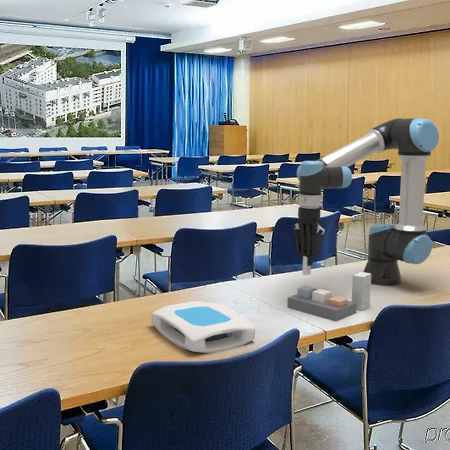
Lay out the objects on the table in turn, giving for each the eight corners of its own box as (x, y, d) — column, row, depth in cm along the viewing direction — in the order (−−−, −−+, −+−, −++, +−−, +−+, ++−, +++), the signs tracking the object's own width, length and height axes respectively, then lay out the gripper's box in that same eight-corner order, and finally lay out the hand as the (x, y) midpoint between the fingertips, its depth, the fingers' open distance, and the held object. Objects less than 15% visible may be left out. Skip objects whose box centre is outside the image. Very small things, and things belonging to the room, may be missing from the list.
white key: (319, 300, 208) (320, 288, 207) (331, 302, 205) (331, 291, 204) (312, 302, 205) (312, 291, 204) (323, 305, 202) (323, 294, 201)
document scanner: (193, 357, 165) (193, 335, 163) (150, 327, 188) (150, 307, 187) (256, 343, 175) (256, 322, 174) (208, 316, 199) (209, 298, 198)
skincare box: (358, 304, 212) (360, 271, 210) (370, 306, 209) (371, 273, 207) (350, 308, 207) (352, 274, 205) (362, 310, 205) (363, 276, 202)
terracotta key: (335, 307, 204) (335, 296, 203) (347, 310, 201) (347, 299, 200) (327, 310, 201) (328, 298, 200) (339, 313, 197) (339, 301, 197)
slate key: (305, 296, 212) (305, 285, 212) (315, 298, 209) (316, 287, 209) (297, 298, 209) (297, 287, 208) (307, 301, 206) (308, 290, 205)
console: (308, 299, 216) (308, 290, 216) (356, 312, 203) (356, 302, 202) (287, 307, 208) (287, 297, 207) (336, 321, 194) (336, 310, 194)
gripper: (287, 205, 205) (284, 272, 209) (318, 210, 196) (315, 279, 200) (300, 203, 210) (298, 269, 215) (331, 208, 202) (328, 276, 206)
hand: (306, 274), depth 207 cm, fingers closed
